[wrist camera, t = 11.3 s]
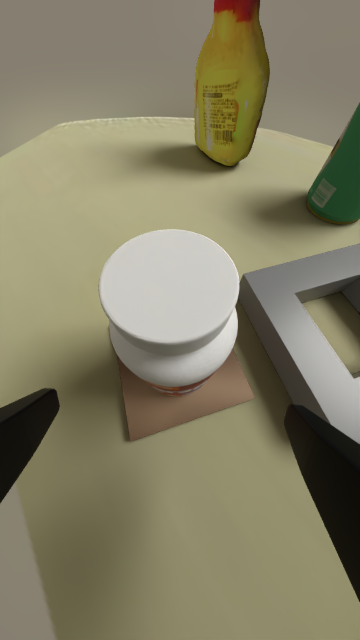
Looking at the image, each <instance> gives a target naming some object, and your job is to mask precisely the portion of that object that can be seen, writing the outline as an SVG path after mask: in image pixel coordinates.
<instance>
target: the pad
mask: <svg viewBox="0 0 360 640" xmlns="http://www.w3.org/2000/svg"><path fill="white" fill-rule="evenodd" d="M117 359H118V365H119V371H120V378H121V384H122V390H123V397H124V403H125V410H126V416H127V422H128V429H129V435H130V441H134V440H137V439H139V438H142V437H145V436H148V435H151V434H154V433H157V432H159V431H162V430H165V429H168V428H171V427H174V426H177V425H179V424H182V423H185V422H188V421H191V420H194V419H197V418H199V417H202V416H205V415H208V414H211V413H214V412H217V411H219V410H222V409H225V408H228V407H231V406H234V405H237V404H239V403H242V402H245V401H248V400H251V399H254V398H255V397H254V394H253V392H252V390H251V388H250V385H249V383H248V381H247V379H246V377H245V374H244V372H243V370H242V368H241V365H240V363H239V361H238V359H237V356H236V354H235V352H234V350H233V348H232V350H231V352H230V354H229V355H228V357H227V358H226V360H225V361H224V363H223V364H222V365H221V366H220V367H219V369H218V370H217V371H216V372H215V373H214V374H213V375H212V376H211V377H210V378H209V379H208V380H207V382H206V383H205V384H204V385H203V386H202V387H201V388H199V389H198V390H196V391H195V392H193V393H191V394H188V395H184V396H169V395H165V394H163V393H160V392H158V391H157V390H155V389H154V388H153V387H151V386H150V385H149V384H147V383H146V382H145V381H143V380H142V379H141V378H139V377H138V376H137V375H135V374H134V373H133V372H132V371H131V370H130V369H128V368H127V367H126V366H125V364H124V363H123V362H122V361H121V360H120V358H119V356H118V355H117Z"/></svg>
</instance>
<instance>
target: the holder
mask: <svg viewBox="0 0 360 640" xmlns="http://www.w3.org/2000/svg"><path fill="white" fill-rule="evenodd" d="M337 292H342V293H343V294H344V295H345V297H346V298H347V299H348V300H349V301H350V303H351V304H352V305H353V306H354V307H355V309H356V310H357V311H358V312H359V313H360V244H356V245H352V246H348V247H345V248H341V249H337V250H333V251H329V252H325V253H322V254H318V255H314V256H310V257H306V258H302V259H299V260H295V261H291V262H287V263H283V264H280V265H276V266H272V267H268V268H264V269H260V270H257V271H253V272H249V273H245V274H243V276H242V279H241V281H240V283H239V295H238V299H239V301H240V302H241V304H242V306H243V308H244V310H245V312H246V314H247V316H248V318H249V320H250V321H251V323H252V325H253V327H254V329H255V331H256V333H257V335H258V337H259V339H260V340H261V342H262V344H263V346H264V348H265V350H266V352H267V354H268V356H269V358H270V359H271V361H272V363H273V365H274V367H275V369H276V371H277V373H278V375H279V377H280V378H281V380H282V382H283V384H284V386H285V388H286V390H287V392H288V394H289V396H290V397H291V399H292V401H293V403H294V404H300V405H303V406H304V407H306V408H307V409H309V410H310V411H312V412H313V413H315V414H316V415H318V416H319V417H321V418H322V419H324V420H325V421H327V422H328V423H329V424H331V425H332V426H334V427H335V428H337V429H338V430H340V431H341V432H343V433H344V434H346V435H347V436H349V437H350V438H352V439H353V440H354V441H356V442H357V443H360V371H359V372H357V373H354V374H350V373H349V371H348V370H347V368H346V367H345V365H344V364H343V363H342V361H341V360H340V358H339V357H338V355H337V354H336V353H335V351H334V350H333V348H332V347H331V345H330V344H329V342H328V341H327V340H326V338H325V337H324V335H323V334H322V332H321V331H320V329H319V328H318V327H317V325H316V324H315V322H314V321H313V319H312V318H311V317H310V315H309V314H308V312H307V311H306V309H305V308H304V306H303V305H302V304H301V303H303V302H307V301H310V300H313V299H317V298H320V297H324V296H327V295H331V294H334V293H337Z"/></svg>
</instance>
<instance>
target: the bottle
mask: <svg viewBox="0 0 360 640" xmlns="http://www.w3.org/2000/svg"><path fill="white" fill-rule="evenodd" d="M259 8H260V0H215V1H214V20H213V25H212V28H211V30H210V32H209V34H208V36H207V38H206V41H205V43H204V45H203V47H202V50H201V52H200V55H199V58H198V61H197V66H196V74H195V142H196V144H197V146H198V147H199V148H200V150H202V151H203V152H204V153H205V154H206V155H208V156H209V157H210V158H211V159H213V160H214V161H216V162H219V163H222V164H224V165H226V166H233V165H235V164H236V163H238V162H239V161H241V160H242V159H244V158H246V157H247V156H248V154H249V152H250V150H251V148H252V145H253V142H254V139H255V135H256V131H257V128H258V125H259V122H260V119H261V115H262V109H263V106H264V103H265V98H266V93H267V87H268V82H269V75H270V68H269V59H268V55H267V52H266V49H265V43H264V37H263V32H262V29H261V26H260V22H259Z"/></svg>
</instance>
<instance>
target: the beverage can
mask: <svg viewBox="0 0 360 640" xmlns="http://www.w3.org/2000/svg"><path fill="white" fill-rule="evenodd" d="M307 206H308V209H309V210H310V211H311V212H312V213H313V214H314V215H315V216H317V217H318V218H320V219H322V220H324V221H327V222H330V223H335V224H350V223H353V222H356V221H357V220H358V219H360V103H359V105H358V107H357V108H356V110H355V112H354V114H353V115H352V117H351V119H350V121H349V122H348V124H347V126H346V127H345V129H344V131H343V133H342V134H341V136H340V138H339V139H338V141H337V143H336V145H335V146H334V148H333V150H332V152H331V153H330V155H329V157H328V159H327V160H326V162H325V164H324V165H323V167H322V169H321V171H320V172H319V174H318V176H317V178H316V179H315V181H314V183H313V185H312V186H311V188H310V190H309V192H308V200H307Z"/></svg>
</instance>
